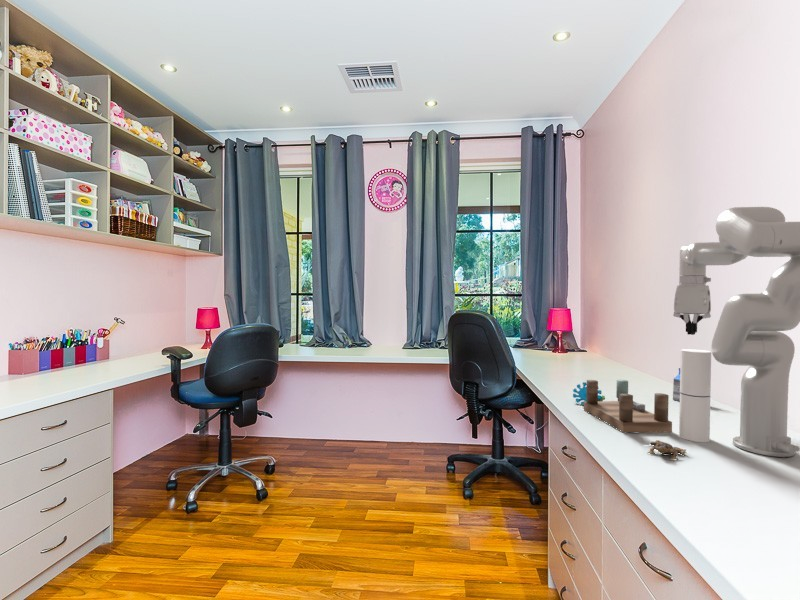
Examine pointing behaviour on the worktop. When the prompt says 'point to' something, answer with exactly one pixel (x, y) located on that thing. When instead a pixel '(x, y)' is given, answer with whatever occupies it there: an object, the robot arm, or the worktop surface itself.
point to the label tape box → (676, 387)
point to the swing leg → (623, 389)
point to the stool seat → (628, 412)
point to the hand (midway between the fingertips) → (691, 334)
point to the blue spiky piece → (583, 394)
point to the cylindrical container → (695, 395)
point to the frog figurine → (666, 449)
